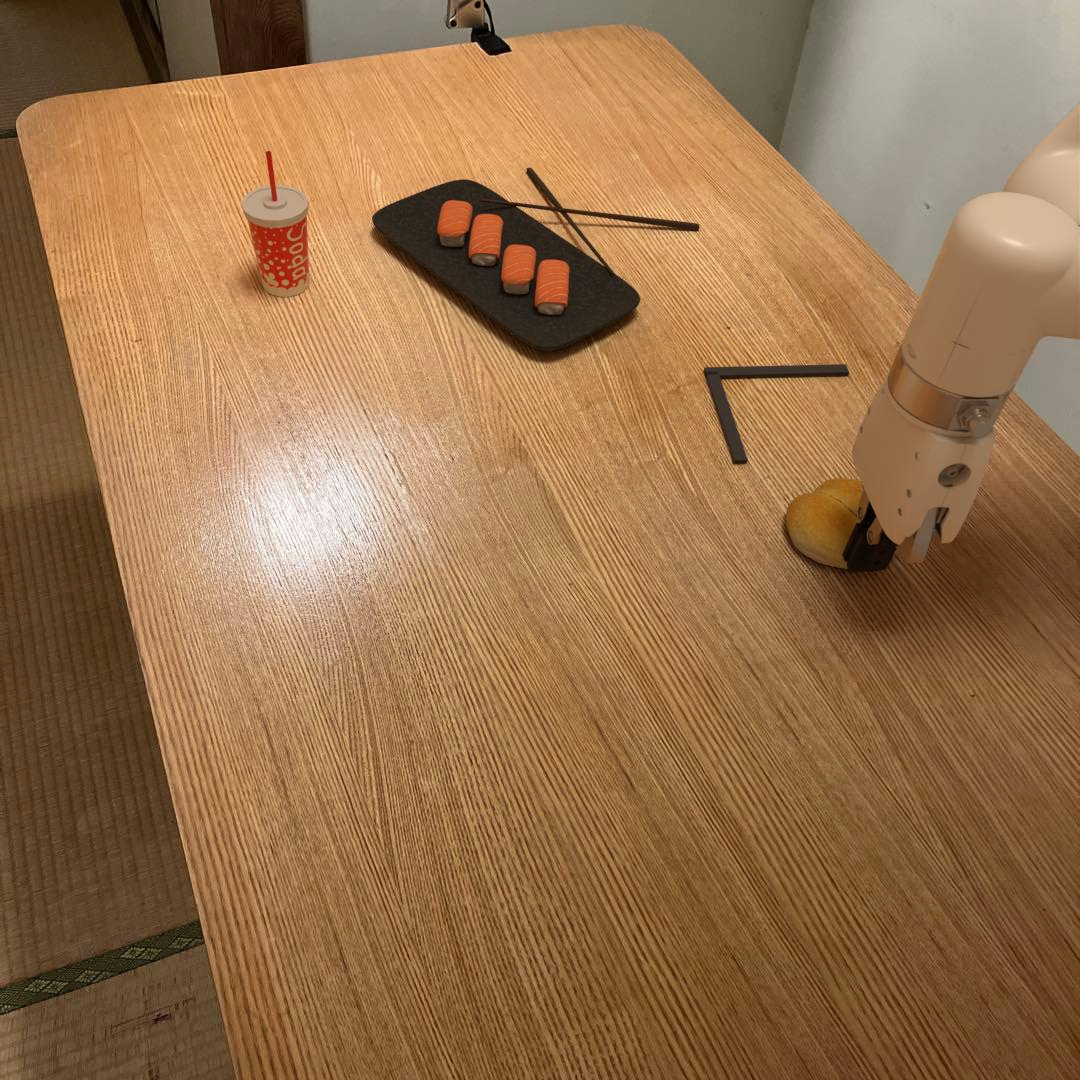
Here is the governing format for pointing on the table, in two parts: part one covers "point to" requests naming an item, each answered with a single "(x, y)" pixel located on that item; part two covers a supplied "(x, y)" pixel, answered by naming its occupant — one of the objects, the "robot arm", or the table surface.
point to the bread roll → (825, 520)
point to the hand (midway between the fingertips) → (863, 563)
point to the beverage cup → (279, 235)
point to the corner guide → (719, 373)
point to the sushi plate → (512, 260)
